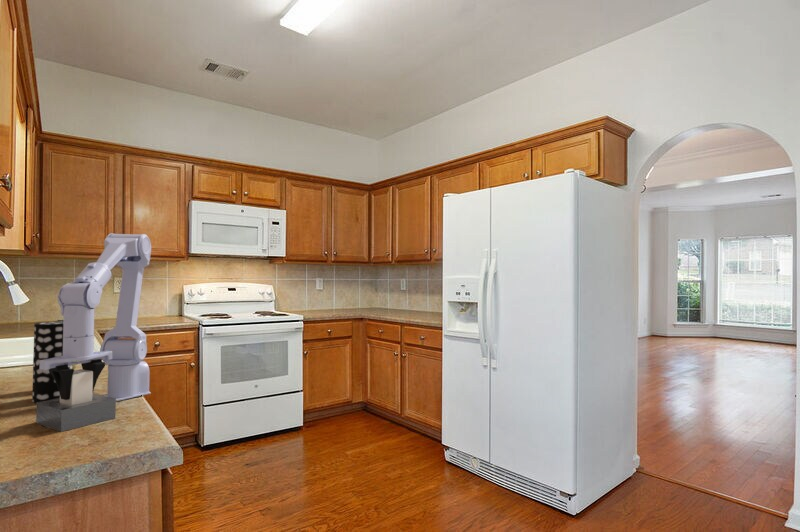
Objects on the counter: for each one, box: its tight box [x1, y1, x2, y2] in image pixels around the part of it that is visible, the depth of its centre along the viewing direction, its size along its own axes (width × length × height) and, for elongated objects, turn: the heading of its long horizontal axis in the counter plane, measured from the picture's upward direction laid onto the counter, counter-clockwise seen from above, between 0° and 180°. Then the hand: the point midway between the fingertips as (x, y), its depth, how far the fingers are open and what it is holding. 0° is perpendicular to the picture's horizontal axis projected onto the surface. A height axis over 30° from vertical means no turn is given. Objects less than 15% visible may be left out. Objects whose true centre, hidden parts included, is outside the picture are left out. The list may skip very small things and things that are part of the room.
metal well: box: [35, 392, 117, 433], centre depth 104 cm, size 11×11×4 cm
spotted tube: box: [31, 320, 72, 404], centre depth 122 cm, size 8×8×20 cm
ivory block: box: [60, 368, 94, 406], centre depth 104 cm, size 4×4×8 cm
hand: (77, 396), depth 104 cm, fingers closed on ivory block, 4 cm apart
